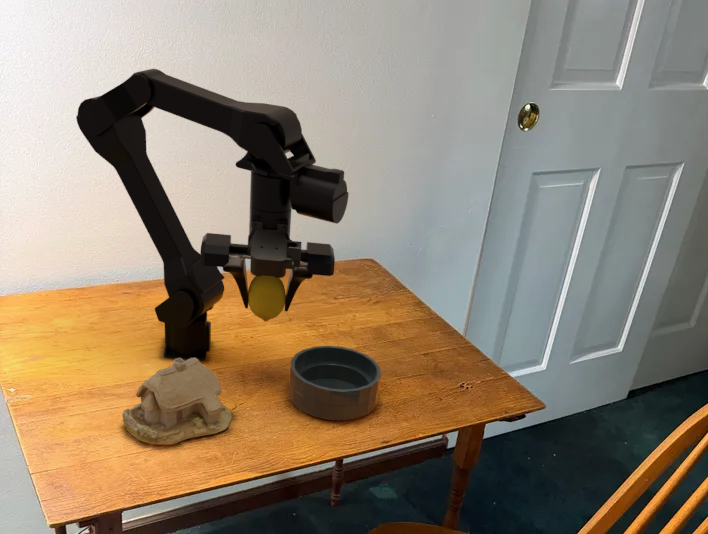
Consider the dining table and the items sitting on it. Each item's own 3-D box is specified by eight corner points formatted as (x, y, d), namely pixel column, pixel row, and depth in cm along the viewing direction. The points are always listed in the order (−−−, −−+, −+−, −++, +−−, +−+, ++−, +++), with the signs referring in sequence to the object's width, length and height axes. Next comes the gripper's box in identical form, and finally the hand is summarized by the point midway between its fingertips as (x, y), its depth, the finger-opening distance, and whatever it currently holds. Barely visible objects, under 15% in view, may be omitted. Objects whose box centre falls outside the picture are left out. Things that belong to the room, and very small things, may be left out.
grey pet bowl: (288, 420, 115) (291, 388, 112) (288, 373, 126) (290, 342, 122) (380, 425, 117) (385, 394, 114) (372, 378, 128) (376, 349, 125)
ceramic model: (194, 390, 117) (194, 330, 112) (244, 423, 112) (246, 362, 107) (111, 422, 108) (106, 358, 102) (162, 460, 103) (159, 395, 97)
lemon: (277, 332, 117) (279, 282, 112) (241, 324, 117) (242, 274, 113) (289, 317, 121) (292, 268, 117) (254, 310, 122) (256, 260, 117)
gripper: (196, 219, 101) (197, 328, 110) (341, 233, 104) (331, 338, 113) (203, 191, 110) (203, 295, 119) (336, 205, 113) (327, 304, 122)
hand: (266, 308), depth 118 cm, fingers closed on lemon, 5 cm apart
